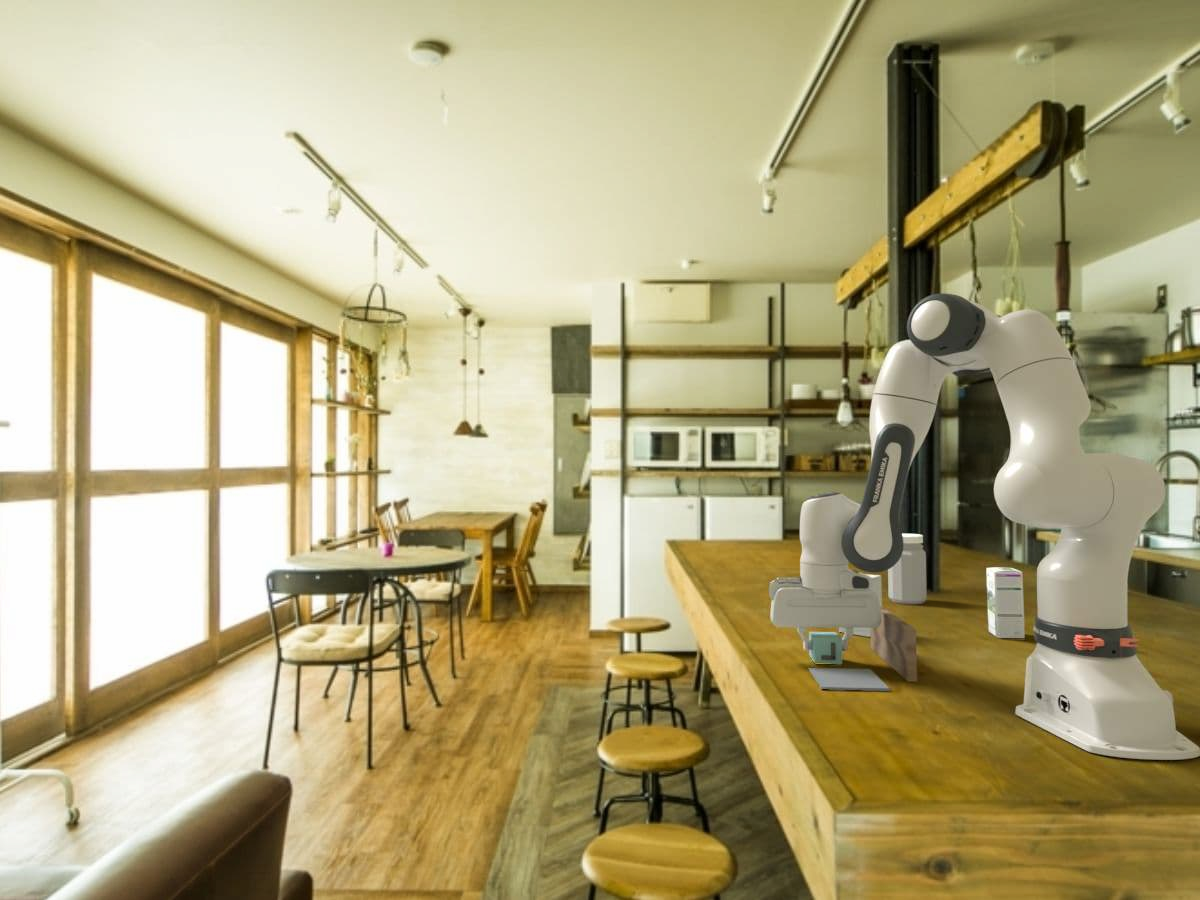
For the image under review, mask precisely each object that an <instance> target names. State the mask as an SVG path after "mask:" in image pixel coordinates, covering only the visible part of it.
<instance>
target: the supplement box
mask: <svg viewBox="0 0 1200 900" xmlns="http://www.w3.org/2000/svg"><path fill="white" fill-rule="evenodd" d="M865 574H866V575H868V576H870V577H871V578H873V579H874V581H875V587H874V589H872V590H873V591H874V592H875V593H876V594H877V596H878V598H879V602H880V606H881V607H883V604H882V603H883V597H882V596H883V595H882V594H883V593H882V591H883V590H882V575H880V574H868V573H865ZM838 630H839V631H838V633H839V632H842V633H841V634H845V631H844V630H843V627H838ZM853 635H854V636H860V637H861V636H862V637H867V638H871V628H853ZM853 635H852V636H853Z"/></svg>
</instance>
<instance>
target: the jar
mask: <svg viewBox="0 0 1200 900" xmlns="http://www.w3.org/2000/svg"><path fill="white" fill-rule="evenodd" d="M902 536H903V543H904V547H903V553H902V555H901V558H900V559H899V561H898V562H897V563H896V564H895V565H894V566H893V567H891V568H890V569H888V570H887V589H888V590H887V592H888V593H887V596H888V599H890V600H891V602H893V603H895V604H896V603H897V604H901V605H922V604H924V603H925V602H926V601H927V595H928V594H927V553H926V551H925V550H924V549H923V548H924V545H923V543H924V539H923V538H924V535H923V534H920V533H918V534H917V533H902Z"/></svg>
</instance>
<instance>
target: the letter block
mask: <svg viewBox="0 0 1200 900" xmlns="http://www.w3.org/2000/svg"><path fill="white" fill-rule="evenodd" d="M842 638H843V637H841V636H840V635H839V634H838V633H837V632H836V631H808V639H811V641H812V642H813V646H812V647H813V650H808V654H809V655H810V657H811V658H812V660H813V661H814V662H815V663H831V664H842V665H843V651H842ZM809 655H808V656H809ZM812 660H811V661H812Z"/></svg>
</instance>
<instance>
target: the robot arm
mask: <svg viewBox="0 0 1200 900" xmlns="http://www.w3.org/2000/svg"><path fill="white" fill-rule="evenodd" d="M906 333H907V337H908V339H904V340H901V341H898V342H896V343H895V344H893V345H892V346H891V347H890V348H889V350H888V351H887V353H886V356H885V358H884V360H883V363H882V365H881V368H880V371H879V373H878V376H877V379H876V382H875V385H874V386H875V387H874V389H873V394H872V397H871V403H870V410H869V421H868V422H869V426H868V427H869V428H868V430H869V438H870V446H871V449H870V450H871V457H870V458H871V460H870V466H869V471H868V475H867V480H866V483H865V486H864V487H865V488H864V492H863V496H862V501H861V504H860V503H858V502H856V501H854V500H852V499H850V498H848V497H847V496H845V494H843V493H842V492H836V491H834V492H826V493H820V494H816V495H812V496H810V497H807V498H806V499H805V500H804V502H803V503H802V505H801V509H800V514H799V541H800V545H801V555H800V559H799V573H800V574H799V576H798V577H797V576H794V577H793V576H792V577H785V576H784V577H782V576H781V577H780V576H779V577H776V579H773V580H772V581H770V582H769V586H768V595H769V598H770V599H771V603H770V614H769V616H770V618H769V619H770V622H772V624H773V625H774V626H775V627H778V628H779V627H780V628H781V627H782V628H783V627H784V628H796V631H797V632H798V634H799V636H800V637H801V640H802V642H803V643H802V646H803V648H802V649H803V650H804V651H809V650H813V647H812V646H813V642H812V641H811V639H809V638H807V637H806V633H807V628H839V627H843V630H844V631H845V633H843V636H842V637H841V638H842V652H848V643H849V641H850V640H851V639H852V637H853V628H877V627H878V626H879V625H880V623H881V609H880V602H879V598H878V596H877V594H876V593H875V592H874V591H873V590H872V589H874V587H875V581H874V579H873V578H871V577H870V576H868V575H866V574H867V573H876V574H877V573H882V572H884V571H888V569H890V568H891V567H893V566H894V565H895V564H896V563H897V562H898V561H899V559H900V558H901V555H902V553H903V547H904V543H903V536H902V530H901V525H900V511H901V505H902V501H903V499H904V498H903V497H904V492H905V487H906V483H907V479H908V475H909V471H910V467H911V466H912V463H913V460H914V458H915V457H916V455H917V453H918V452H919V450H920V448H921V446H922V444H923V443H924V441H925V439H926V436H927V435H928V433H929V430H930V428H931V426H932V422H933V420H934V416H935V413H936V409H937V405H938V400H939V395H940V392H941V387H942V384H943V383H944V382H945V379H946V378H947V377H948V376H949V375H951V374H953V375H954V376H955V377H959V378H960V377H961V378H962V377H965V376H971V375H975V374H981V373H982V374H983V373H987V372H988V373H989V372H991V374H992V377H993V379H994V380H993V381H994V384H995V386H996V389H997V392H998V395H999V398H1000V400H1001V403H1002V406H1003V409H1004V413H1005V417H1006V420H1007V422H1008V426H1009V427H1008V428H1009V433H1010V447H1009V448H1010V449H1009V454H1008V457H1007V461H1005V463H1004V464H1003V466H1002V467H1000V469H999V470H998V473H997V474H996V477H995V480H994V483H993V495H994V500H995V502H996V505H997V507H998V509H999V511H1000V512H1001V514H1002V515H1004V517H1006V518H1007V519H1009V520H1010V521H1011V522H1014V523H1017V524H1021V525H1025V526H1028V527H1029V526H1030V527H1034V528H1041V529H1061V530H1060V532H1059V536H1058V539H1057V541H1056V543H1055V545H1054V546H1053V548H1052V550H1051V551H1050V552H1049V553H1048V554H1046V555H1045V556H1044V557H1043V558H1042V559H1041V560H1040V562H1039V563H1038V566H1037V568H1036V597H1037V598H1036V599H1037V600H1036V604H1037V607H1036V609H1037V615H1036V616H1035V617H1034V620H1033V621H1034V624H1033V632H1034V634H1033V635H1034V640H1035V642H1037V643H1036V645H1035V648H1034V650H1033V651H1032V652H1031V654H1030V655H1029V656H1028V657H1027V659H1026V662H1025V676H1024V677H1025V678H1024V690H1023V691H1024V692H1023V693H1024V694H1023V703H1022V704H1019V705H1016V706H1015V711H1014V715H1016V716H1018V717H1020V718H1022V719H1024V720H1026V721H1028V722H1030V723H1031V724H1033V725H1035V726H1037V727H1039V728H1041V729H1043V730H1045V731H1048V732H1049V733H1051V734H1052V735H1054V736H1057V737H1058V738H1061V739H1063V740H1065V741H1067V742H1069V743H1071V744H1073V745H1074V746H1076V747H1079V748H1081V749H1083V750H1084V751H1086V752H1089V753H1093V754H1097V755H1102V756H1109V757H1116V758H1123V759H1124V758H1125V759H1133V760H1134V759H1137V760H1159V761H1160V760H1161V761H1164V760H1165V761H1167V760H1169V761H1173V760H1174V761H1175V760H1178V761H1179V760H1189V759H1195V758H1198V757H1200V747H1199V746H1198V745H1197V744H1196V743H1194V742H1193V741H1192V740H1190V739H1188V737H1186V736H1185V735H1183V734H1182V733H1180V732H1179V731H1178V730H1177V728H1176V727H1177V726H1176V720H1175V718H1176V717H1175V711H1174V699H1173V695H1172V693H1171V692H1170V691H1169V690H1163V689H1162V688H1161V687H1160V686H1159V685H1158V683H1157V682H1156V680H1155V679H1154V678H1153V677H1152V675H1151V674H1150V673H1149V671H1148V670H1147V668H1145V666H1144V665H1143V664H1142V662H1141V661H1140V660H1139V658H1138V656H1137V654H1138V648H1140V645H1139V644H1136V642H1140V639H1139V638H1135V637H1136V636H1135V635H1134V633H1133V631H1132V626H1131V625H1130V624H1129V623H1128V578H1129V577H1128V576H1129V570H1130V564H1131V560H1132V556H1133V553H1134V551H1135V550H1134V549H1135V547H1136V544H1137V541H1138V539H1139V537H1140V534H1141V533H1142V531H1143V528H1144V526H1145V525H1146V524H1147V522H1148V520H1150V518H1152V516H1154V514H1155V513H1157V512H1158V511H1159V510H1160V508H1161V507H1162V505H1163V503H1164V500H1165V497H1166V486H1165V481H1164V479H1163V477H1162V474H1161V473H1160V471H1159V470H1158V469H1157V468H1156V467H1155V466H1154V465H1153V464H1151V463H1150V462H1148V461H1147V460H1146V461H1145V460H1143V459H1141V458H1140V459H1139V458H1137V457H1132V456H1129V455H1125V454H1122V453H1115V452H1114V453H1113V452H1112V453H1111V452H1109V453H1108V452H1105V453H1101V452H1100V453H1099V452H1095V453H1086V452H1085V451H1084V450H1083V448H1082V445H1081V444H1082V443H1081V439H1080V426H1081V425H1082V424H1083V423H1084V422H1085V421H1086V420H1087V419H1088V418H1089V416H1090V413H1091V410H1092V404H1091V400H1090V398H1089V395H1088V393H1087V391H1086V388H1085V385H1084V383H1083V381H1082V379H1081V376H1080V374H1079V373H1080V372H1079V371H1078V368H1077V366H1076V363H1075V361H1074V359H1073V357H1072V355H1071V352H1070V350H1069V349H1068V346H1067V344H1066V343H1065V341H1064V339H1063V338H1062V335H1061V334H1060V332H1059V331H1058V330H1057V328H1056V327H1055V325H1054V323H1052V321H1051V320H1050V318H1049V317H1048V316H1047V315H1046V314H1044V313H1043V312H1042V311H1041V312H1040V311H1039V310H1036V309H1035V310H1034V309H1021V310H1015V311H1012V312H1009V313H1006V314H1004V315H1003V316H1001V315H998V314H997V313H995V312H993V311H992V310H990V309H989V308H987V307H985V306H984V305H982V304H981V303H980V304H979V303H978V302H976V301H973V300H969V299H966V298H965V297H962V296H960V295H957V294H952V293H942V292H941V293H933V294H930V295H928V296H926V297H924V298H922V299H921V300H919V301H918V303H917V304H915V306H914V307H912V310H911V312H910V313H909V316H908V318H907V321H906ZM849 563H850V565H852V566H853V567H854V568H856V569H858V570H860V571H863V572H865V573H863V572H859V571H857V570H856V569H850V568H849ZM866 572H867V573H866Z"/></svg>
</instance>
